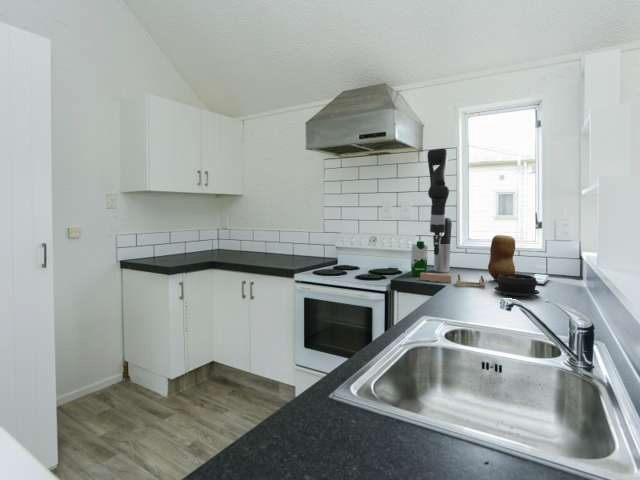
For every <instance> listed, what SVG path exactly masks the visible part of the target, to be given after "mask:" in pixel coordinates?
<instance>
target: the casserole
mask: <svg viewBox="0 0 640 480" xmlns="http://www.w3.org/2000/svg"><path fill="white" fill-rule="evenodd" d="M496 280H497V281H498V282H497V281H496V282H497V283H498V284H497V285H498V286H494V291H497V292H499V293H501V294H503V295H506V296H510V297H520V298H523V297H525V298H527V297H534V296H536V295H539V294H540V291H539V290H537V289H536V287H537V285H538V283H539V282H538V281H537V278H536V276H533V275H528V274H527V275H526V274H521V273H520V274H519V273H515V274H500V275H499V277H498V278H497V279H496Z"/></svg>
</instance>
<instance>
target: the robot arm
mask: <svg viewBox="0 0 640 480" xmlns="http://www.w3.org/2000/svg"><path fill="white" fill-rule="evenodd" d="M448 158H449V157H448V151H447V149H446V148H436V149H435V148H434V149H429V150H428V151H427V163H428V171H429V172H428V173H429V181H430V182H429V184H430V185H429V188H428V191H427V194H428V197H429V198H430V199H431V208H430V219H429V220H430V221H429V222H430V223H429V232H430V233H431V234H432V233H433V234H434V235H433V236H432V241H433V242H432V244H433V255H434V256H433V257H434V258H433V271H434V272H436V273H450V263H451V262H450V261H451V259H450V257H451V240H452V227H453V223H452V219H451V217H450V218H449V217H446V216H445V215H446V204H447V201H448V198H449V195H450V188H449V186H447V184H446V172H447V168H448V160H449V159H448ZM435 166H437V168H435ZM440 233H441V234H442V233H443V235H442V236H441V234H440Z"/></svg>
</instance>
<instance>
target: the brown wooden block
mask: <svg viewBox="0 0 640 480" xmlns="http://www.w3.org/2000/svg"><path fill="white" fill-rule="evenodd" d="M419 280H420V281H423V280H429V281H428V282H435V281H439V282H438V283H447V282H448V284H451V283H452V282H453V274H450V273H449V274H448V273H437V272H436V273H433V272H426V273H420V277H419Z"/></svg>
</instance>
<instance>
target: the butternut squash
mask: <svg viewBox="0 0 640 480" xmlns="http://www.w3.org/2000/svg"><path fill="white" fill-rule="evenodd" d="M515 250H516V240H515V238H514V237H513V236H511V235H504V234H496V235H494V236H493V238H492V239H491V244H490V249H489V253H490V259H489V261H488V265H487V271H488V273H489V275H490V277H491V278H492V279H494V281H496V282H497V283H498V281H497V280H496V279H497V278H498V277H499V275H500V274H516V266H515V263H514V260H513V259H514V255H515Z"/></svg>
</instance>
